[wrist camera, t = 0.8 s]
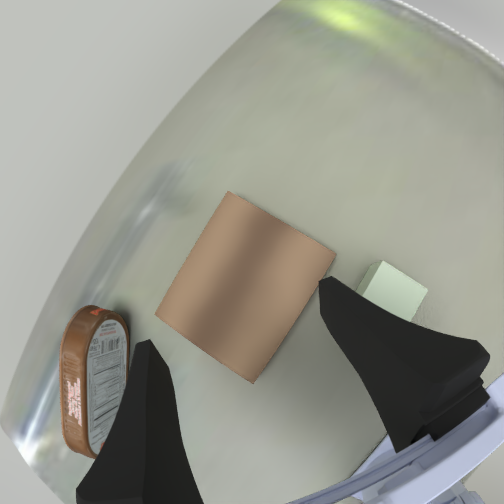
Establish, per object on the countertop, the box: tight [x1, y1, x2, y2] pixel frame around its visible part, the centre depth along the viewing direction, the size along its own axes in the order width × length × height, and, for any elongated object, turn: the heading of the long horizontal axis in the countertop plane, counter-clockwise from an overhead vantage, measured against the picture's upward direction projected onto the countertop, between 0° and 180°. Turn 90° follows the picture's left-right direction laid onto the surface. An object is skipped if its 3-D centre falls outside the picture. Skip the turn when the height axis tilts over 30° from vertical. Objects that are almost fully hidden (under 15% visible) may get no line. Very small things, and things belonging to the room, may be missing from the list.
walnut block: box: [155, 191, 336, 384], centre depth 27 cm, size 10×12×3 cm
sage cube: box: [355, 260, 428, 322], centre depth 23 cm, size 4×4×5 cm
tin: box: [59, 305, 129, 459], centre depth 25 cm, size 15×3×8 cm, turn 173°
